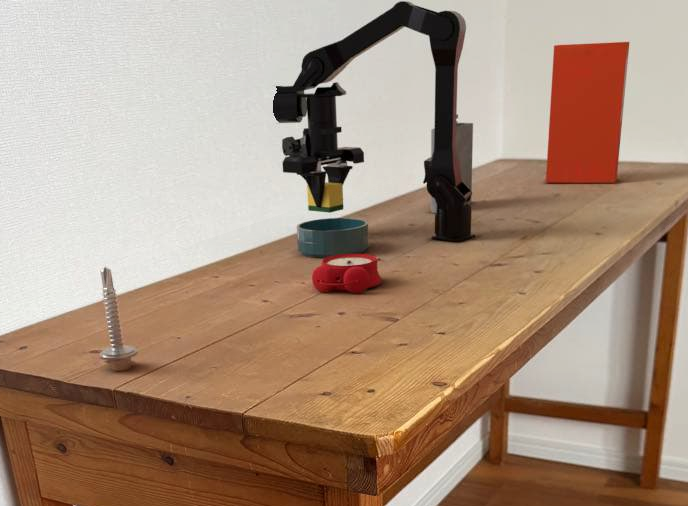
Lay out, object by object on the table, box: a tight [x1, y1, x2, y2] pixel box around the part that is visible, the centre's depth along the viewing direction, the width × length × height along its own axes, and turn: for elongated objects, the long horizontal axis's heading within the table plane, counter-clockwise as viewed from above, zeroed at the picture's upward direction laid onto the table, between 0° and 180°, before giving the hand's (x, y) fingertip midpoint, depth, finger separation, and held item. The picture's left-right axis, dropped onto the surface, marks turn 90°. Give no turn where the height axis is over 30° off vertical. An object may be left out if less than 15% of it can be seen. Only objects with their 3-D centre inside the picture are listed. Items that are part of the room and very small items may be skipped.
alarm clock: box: [311, 253, 382, 294], centre depth 155 cm, size 10×6×15 cm
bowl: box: [296, 217, 370, 259], centre depth 182 cm, size 14×14×5 cm
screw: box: [99, 266, 138, 372], centre depth 120 cm, size 13×5×5 cm
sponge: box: [306, 181, 344, 214], centre depth 192 cm, size 6×4×5 cm
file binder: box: [545, 41, 630, 184], centre depth 239 cm, size 8×17×32 cm, turn 71°
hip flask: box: [430, 113, 474, 214], centre depth 216 cm, size 16×4×20 cm, turn 144°
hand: (326, 205), depth 193 cm, fingers closed on sponge, 4 cm apart
